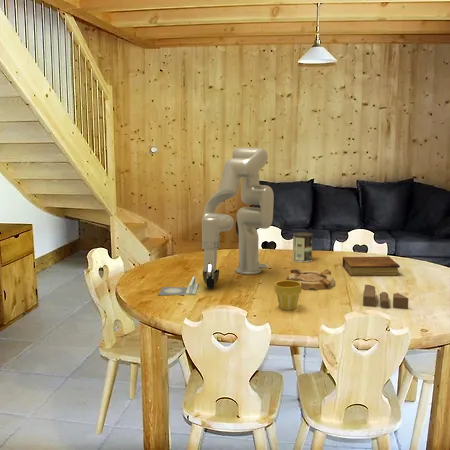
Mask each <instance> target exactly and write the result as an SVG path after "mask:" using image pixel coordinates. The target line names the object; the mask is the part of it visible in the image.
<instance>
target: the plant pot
mask: <svg viewBox="0 0 450 450" xmlns="http://www.w3.org/2000/svg"><path fill="white" fill-rule="evenodd" d="M274 293H275V294H276V297H277V301H278V307H279V309H281V310H284V311H293V310H296V309H297V308H298V307H297V306H298V302H299V297H300V295H301V293H302V289H301V283H300V282H297V281H291V280H286V279H285V280H279V281H276V282H275V283H274Z"/></svg>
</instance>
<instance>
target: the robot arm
mask: <svg viewBox="0 0 450 450" xmlns="http://www.w3.org/2000/svg"><path fill="white" fill-rule="evenodd" d="M231 155H232V158H228V159H227V160H225V163H224V166H223V169H222V173H221V179H220V182H219V187H218V189H217V191H215V193H213V194H212V195H211V196H210V198H209V199H208V200H207V201H206V203H205V206H204V209H203V214H202V218H201V249H202V250H204V251H203V269H204V272H206V271H207V284H206V288H207V289H209V288H213V289H215V288H214V278H213V273H214V272H215V271H216V269H217V261H218V257H217V253H218V252H217V251H218V250H219V249H220V233H222V232H223V233H225V232H229V231H230V230H232V229H233V228H234V224H235V222H234V218H233V217H232V216H231V215H229V214H224V213H215V212H216V210H217V208H218V206H220V204H222V203H223V202H225V201H227V200H229V199H231V198H233V197H236V196H237V194H238V190H239V187H240V200H241V202H242V203H244V204H245V205H246V204H247V205H252V206H253V205H254V206H255V205H256V206H259V207H251V206H243V207H241V208H239V209H238V210H237V212H236V222H237V228H238V230H237V231H238V267H236V268H235V273H237V274H239V275H240V274H241V275H246V276H247V275H250V276H251V275H257V274H260V273H261V272H262V269H268V268H269V267H268V265H269V264H266V263H260V260H259V233H258V230H257V229H261V230H262V229H263V230H264V229H265V230H266V229H268V228H270V227H271V226H272V224H273V217H274V200H275V199H274V197H275V196H274V195H275V194H274V191H273V188H272V187H270V186H269V185H265V184H260V171H261V169H263V168H264V167H265V166H266V164H267V162H268V158H269V154H268V152H267V150H266V149H265V148H261V147H236V148H235V149H233V151H232V154H231ZM240 183H241V184H240ZM239 185H240V186H239ZM211 270H213V271H211ZM211 273H212V274H211Z"/></svg>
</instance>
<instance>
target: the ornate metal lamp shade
mask: <svg viewBox="0 0 450 450" xmlns="http://www.w3.org/2000/svg"><path fill="white" fill-rule="evenodd" d="M211 271H213V270H211ZM211 274H212V273H211ZM202 277H203V278H202V279H203V282H204V284H205V285H207V271H206V272H204V268H203V270H202ZM213 278H214V288H208V289H210V290H212V289H213V290H214V289H215V288H216V285H217V284H218V282H219V280H220V279H219V278H220V269H217V268H216V270H215V272H214V273H213Z"/></svg>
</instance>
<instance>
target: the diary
mask: <svg viewBox="0 0 450 450" xmlns="http://www.w3.org/2000/svg"><path fill="white" fill-rule="evenodd" d="M341 264H342V268H343V269H344V270H345V272H346V273H347V274H348V275H349V277H400V274H399V273H398V272H399V268H401V267H400V264H399V263H397V262H396V261H395V260H394V259H392V258H391V257H390V256H343V257H342V263H341Z"/></svg>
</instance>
